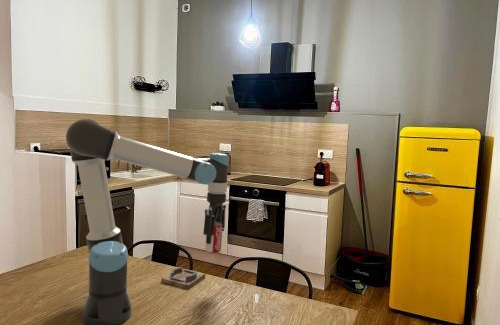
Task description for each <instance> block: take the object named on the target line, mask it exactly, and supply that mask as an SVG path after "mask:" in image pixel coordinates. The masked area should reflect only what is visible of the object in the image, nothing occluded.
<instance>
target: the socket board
mask: <svg viewBox="0 0 500 325" xmlns="http://www.w3.org/2000/svg"><path fill="white" fill-rule="evenodd" d="M205 278H206V273H203V272H200V271H198V270H190V269H186V268H183V267H182V266H180V267H175V268H173V269H172V270H171V272H169V273H168V274H166V275H164V276H163V277H162V278H161V283H164V284H168V285H172V286H176V287H180V288H183V289H187V290H188V289H190V288H193V287H194V286H195V285H196V284H198V283H200V282H201V281H203V279H205Z"/></svg>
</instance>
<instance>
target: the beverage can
mask: <svg viewBox="0 0 500 325" xmlns="http://www.w3.org/2000/svg"><path fill="white" fill-rule="evenodd" d="M212 235H214V236H213V252H209V251H206V248H205V251H206V252H207V253H208V254H210V255H218V254H219V253H221V252H222V242H223V241H222V238H223V231H222V225H221V223H220V222H215V225H214V229H213V234H212ZM205 236H207V235H205Z"/></svg>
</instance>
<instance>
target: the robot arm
mask: <svg viewBox="0 0 500 325" xmlns="http://www.w3.org/2000/svg"><path fill="white" fill-rule="evenodd" d="M65 141H66V144H67V146H68V148H69V152H70V157H71V158H70V159H71V162H72V163H74V164H76V166H77V167H78V168H77V169H78V173H79V180H80V185H81V192H82V195H83V201H84V207H85V212H86V218H87V222H88V229H89V232H88V233H87V235H86V236H85V238H86V244H87V250H88V262H89V264H88V268H89V269H88V296H87V299H86V301H85V304H84V306H83V310H82V322H83V323H84V324H86V325H121V324H122V323H124V322H126V321H127V320H128V319H129V318H131V316H132V310H133V309H132V308H133V307H132V304H131V303H132V302H131V301H130V297H129V294H128V290H127V289H128V288H127V287H128V286H127V285H128V284H127V283H128V282H127V280H128V258H129V253H128V248H127V246H126V245H125V244H124V243H123V238H122V237H123V236H122V231H121V228H119V227H118V226H116V221H115V216H114V212H113V204H112V198H111V193H110V192H111V191H110V186H109V181H108V175H107V169H106V163H105V161H110V160H117V161H121V162H125V163H128V164H132V165H136V166H138V167H139V166H140V167H143V168H147V169H150V170H155V171H158V172H161V173H166V174H168V175H173V176H177V177H179V178H180V177H181V178H184V179H187V180H190V181H194V182H198V183H199V184H202V185H207V195H206V201H207V202H208V203H209V206H208V209H206V208H205V209H204V221H203V222H204V224H203V235H205V236H206V235H207V236H206V237H205V249H206V250H205V252H207V251H209V252H213V236H214V235H212V234H213V229H214V225H215V222H220V223H221V225H222V232H224V231H225V227H226V209H227V205H226V204H225V203H226V201H227V193H226V192H228V191H227V190H228V189H227V188H228V174H229V173H228V172H229V155H228V154H227V153H226V154H225V153H219V152H215V153H213V152H211V153H210V154H209V157H207V158H205V157H203V158H201V157H192V156H188V155H185V154H182V153H177V152H175V151H171V150H169V149H168V150H167V149H165V148H162V147H158V146H154V145H151V144H148V143H145V142H141V141H137V140H135V139H131V138H129V137H124V136H122V135H119V133H118V131H117V130H116V131H115V130H112V129H109V128H107V127H105V126H102V125H101V124H100V123H99V122H97V121H95V120H93V119H89V118H88V119H87V118H84V119H77V121H74V122H73V123H72V124H71V125H69V126H68V128H67V130H66V134H65Z"/></svg>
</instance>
